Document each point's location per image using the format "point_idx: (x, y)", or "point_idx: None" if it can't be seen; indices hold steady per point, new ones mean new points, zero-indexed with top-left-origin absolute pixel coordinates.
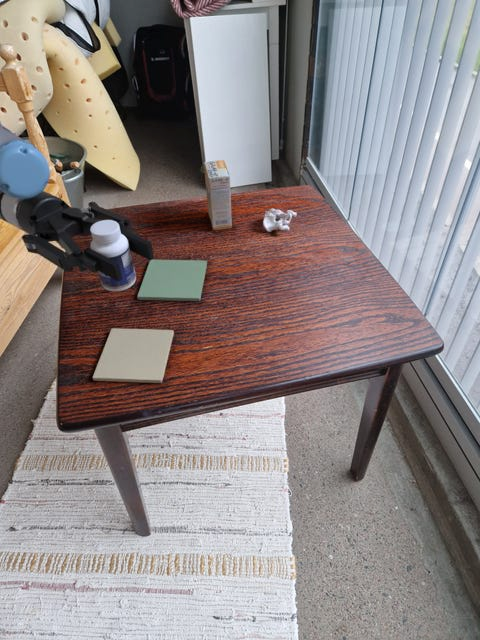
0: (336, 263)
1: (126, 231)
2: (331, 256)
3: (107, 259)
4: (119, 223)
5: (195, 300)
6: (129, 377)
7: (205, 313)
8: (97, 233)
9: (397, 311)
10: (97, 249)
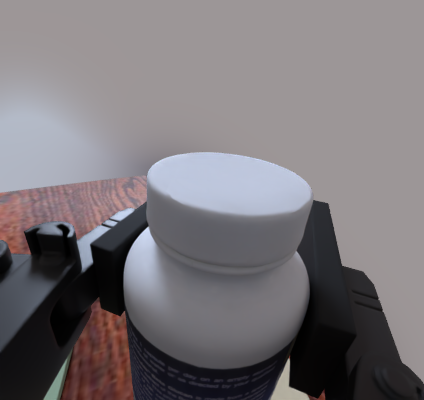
0: (28, 206)
1: (123, 220)
2: (10, 209)
3: (319, 222)
4: (62, 234)
5: (71, 352)
6: (304, 397)
7: (112, 325)
8: (300, 181)
9: (120, 183)
10: (301, 264)
